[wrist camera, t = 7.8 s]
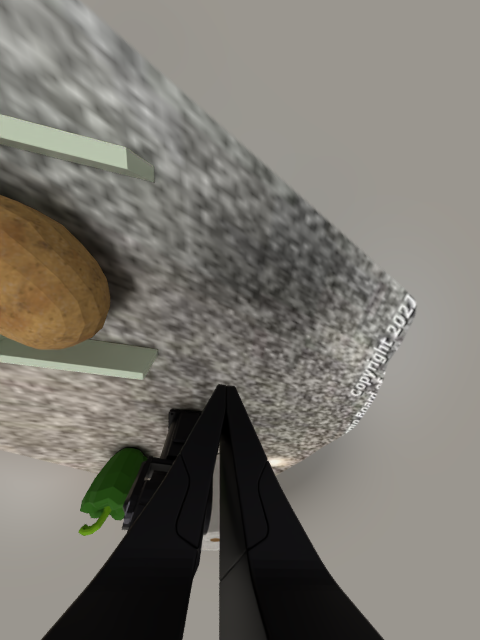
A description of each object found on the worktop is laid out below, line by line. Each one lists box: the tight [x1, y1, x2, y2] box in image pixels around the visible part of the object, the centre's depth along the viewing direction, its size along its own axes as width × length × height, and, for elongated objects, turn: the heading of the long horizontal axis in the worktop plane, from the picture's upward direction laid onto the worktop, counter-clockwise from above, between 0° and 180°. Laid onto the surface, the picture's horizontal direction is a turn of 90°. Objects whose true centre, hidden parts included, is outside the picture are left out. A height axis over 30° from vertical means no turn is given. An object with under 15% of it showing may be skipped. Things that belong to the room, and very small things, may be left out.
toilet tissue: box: [201, 454, 220, 550], centre depth 33 cm, size 11×12×10 cm
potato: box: [0, 195, 110, 350], centre depth 13 cm, size 10×14×8 cm
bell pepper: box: [79, 448, 147, 536], centre depth 30 cm, size 8×8×10 cm
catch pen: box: [0, 114, 158, 380], centre depth 15 cm, size 19×16×5 cm
